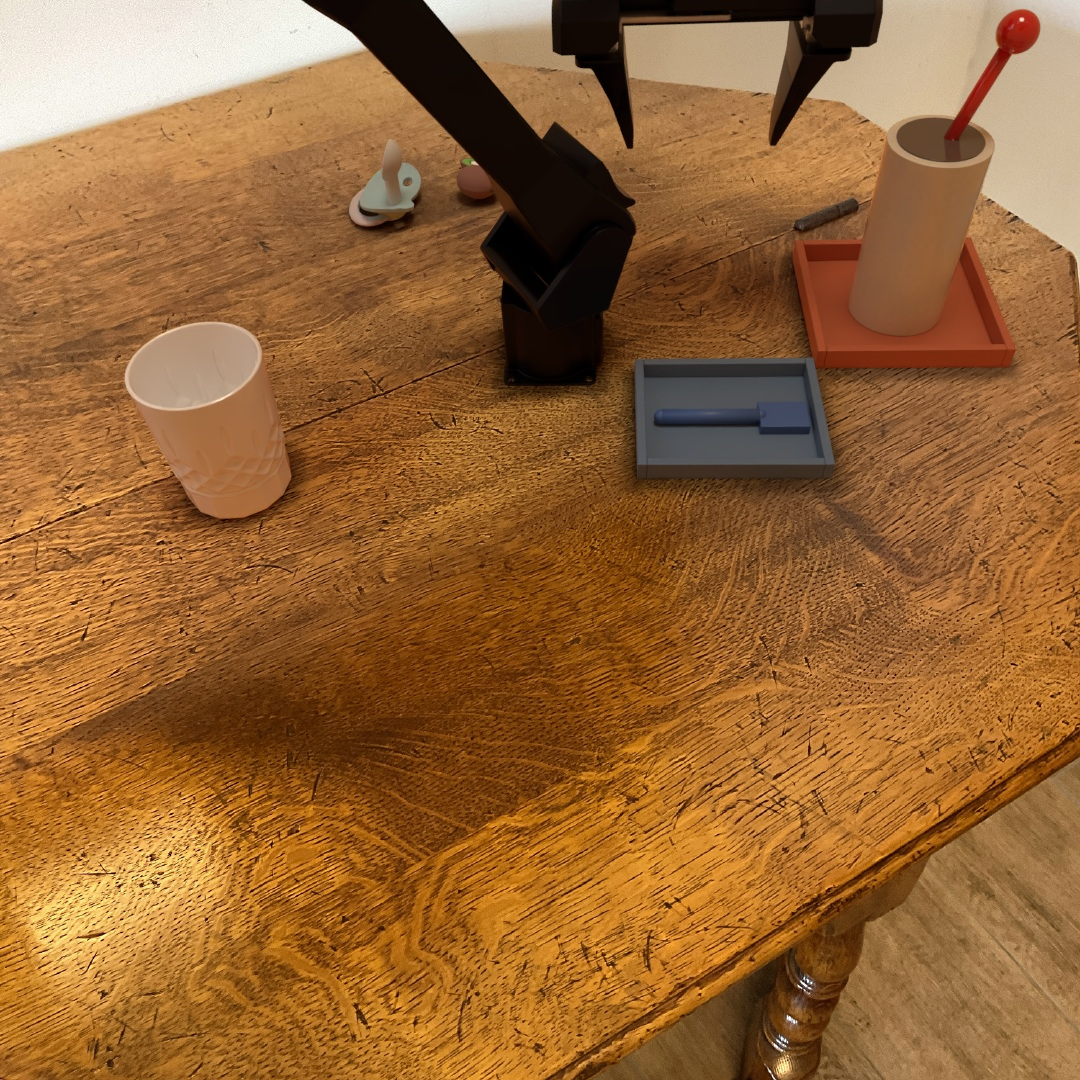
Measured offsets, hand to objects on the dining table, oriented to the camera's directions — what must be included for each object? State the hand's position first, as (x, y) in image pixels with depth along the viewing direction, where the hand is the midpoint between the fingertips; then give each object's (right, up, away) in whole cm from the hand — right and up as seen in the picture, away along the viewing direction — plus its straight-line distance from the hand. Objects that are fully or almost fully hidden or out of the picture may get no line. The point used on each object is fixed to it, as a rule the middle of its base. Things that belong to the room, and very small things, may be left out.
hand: (700, 144), depth 65 cm
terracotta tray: (+16, -9, +8) cm, 20 cm away
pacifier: (-24, +2, +21) cm, 32 cm away
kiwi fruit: (-16, +5, +21) cm, 27 cm away
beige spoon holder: (+16, -9, +8) cm, 20 cm away
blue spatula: (+2, -18, +1) cm, 18 cm away
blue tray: (+2, -18, +2) cm, 18 cm away
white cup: (-30, -22, 0) cm, 37 cm away
